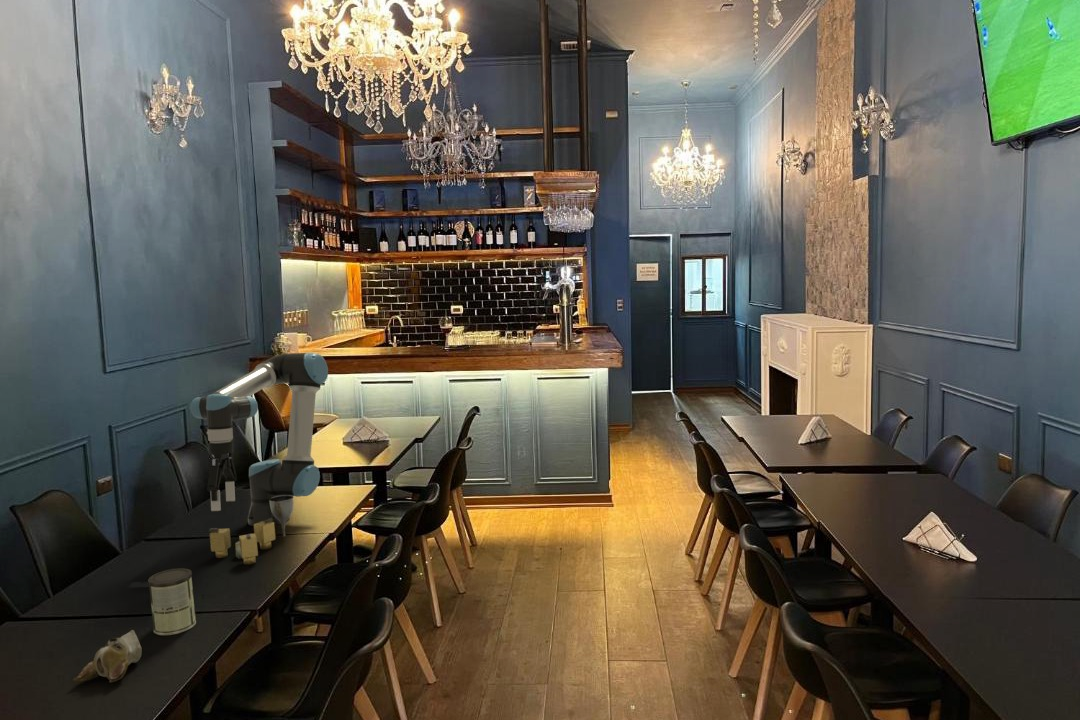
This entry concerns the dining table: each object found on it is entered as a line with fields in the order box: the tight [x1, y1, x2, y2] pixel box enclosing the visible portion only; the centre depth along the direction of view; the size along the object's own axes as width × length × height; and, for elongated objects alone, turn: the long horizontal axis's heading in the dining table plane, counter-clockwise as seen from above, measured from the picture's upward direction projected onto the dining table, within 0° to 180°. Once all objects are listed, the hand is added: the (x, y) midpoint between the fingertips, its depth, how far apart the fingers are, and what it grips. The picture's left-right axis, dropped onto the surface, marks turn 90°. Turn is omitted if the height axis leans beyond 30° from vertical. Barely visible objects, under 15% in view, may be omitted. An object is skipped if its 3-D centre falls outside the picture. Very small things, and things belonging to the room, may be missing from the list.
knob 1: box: [208, 527, 232, 559], centre depth 253 cm, size 6×5×9 cm
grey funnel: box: [269, 495, 295, 537], centre depth 272 cm, size 8×8×15 cm
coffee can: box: [147, 567, 197, 636], centre depth 203 cm, size 10×10×14 cm
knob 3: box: [253, 518, 276, 550], centre depth 260 cm, size 6×5×9 cm
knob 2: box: [238, 533, 259, 565], centre depth 246 cm, size 6×5×9 cm
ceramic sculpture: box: [72, 629, 143, 683], centre depth 180 cm, size 11×9×15 cm
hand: (223, 505), depth 253 cm, fingers open, 13 cm apart
